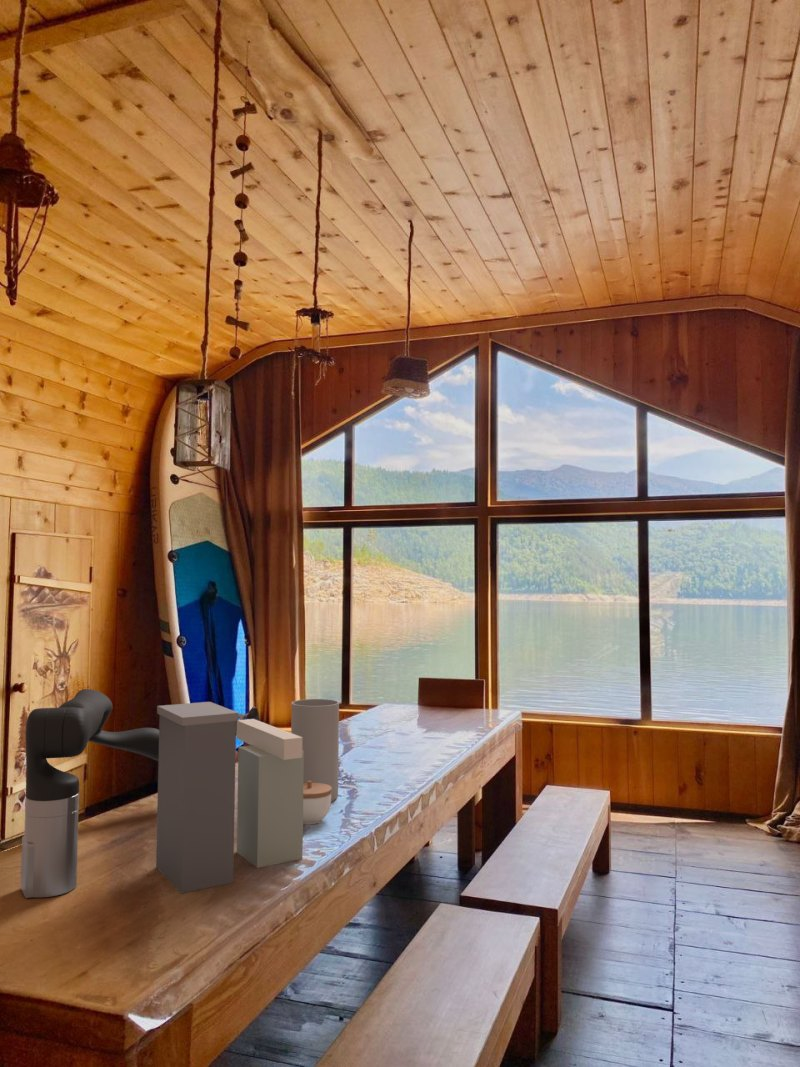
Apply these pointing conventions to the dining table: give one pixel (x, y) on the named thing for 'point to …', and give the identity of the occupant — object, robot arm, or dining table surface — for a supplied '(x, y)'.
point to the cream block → (270, 739)
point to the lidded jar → (315, 802)
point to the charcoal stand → (196, 795)
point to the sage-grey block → (269, 807)
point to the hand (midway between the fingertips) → (238, 712)
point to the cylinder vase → (318, 739)
